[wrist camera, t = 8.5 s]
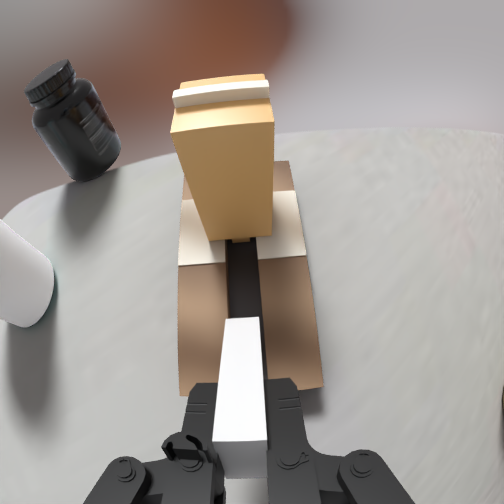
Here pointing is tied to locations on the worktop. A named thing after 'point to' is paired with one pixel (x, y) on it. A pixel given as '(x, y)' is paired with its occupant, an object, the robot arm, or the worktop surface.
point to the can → (23, 279)
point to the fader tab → (227, 153)
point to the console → (247, 294)
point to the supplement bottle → (72, 122)
